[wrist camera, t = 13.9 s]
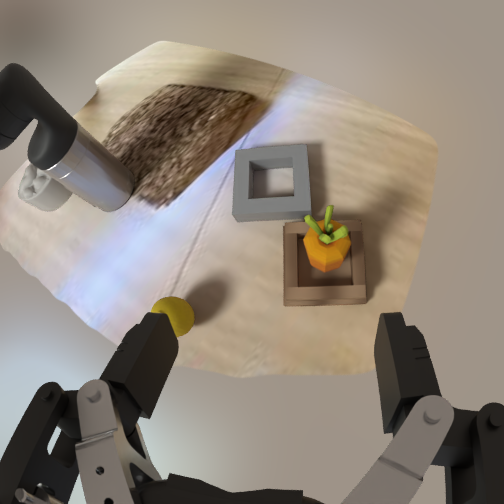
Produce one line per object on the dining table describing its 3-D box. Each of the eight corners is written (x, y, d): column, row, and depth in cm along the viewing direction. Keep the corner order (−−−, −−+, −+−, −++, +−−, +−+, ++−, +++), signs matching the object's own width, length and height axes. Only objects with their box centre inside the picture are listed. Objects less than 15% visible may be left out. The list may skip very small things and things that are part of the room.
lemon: (162, 320, 44) (133, 316, 36) (183, 292, 44) (157, 283, 37) (187, 345, 42) (160, 346, 35) (209, 316, 43) (187, 312, 35)
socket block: (237, 222, 46) (232, 214, 43) (240, 160, 48) (235, 150, 46) (311, 218, 43) (311, 210, 40) (307, 154, 46) (306, 144, 43)
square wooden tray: (284, 306, 41) (281, 303, 37) (284, 229, 44) (281, 219, 40) (364, 303, 39) (369, 300, 35) (360, 226, 41) (363, 216, 38)
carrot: (299, 262, 41) (288, 221, 26) (327, 239, 41) (330, 188, 26) (322, 290, 39) (325, 264, 25) (351, 266, 39) (368, 227, 25)
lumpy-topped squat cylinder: (49, 172, 60) (26, 156, 52) (81, 168, 57) (57, 149, 49) (35, 211, 58) (10, 197, 50) (66, 212, 55) (38, 196, 47)
